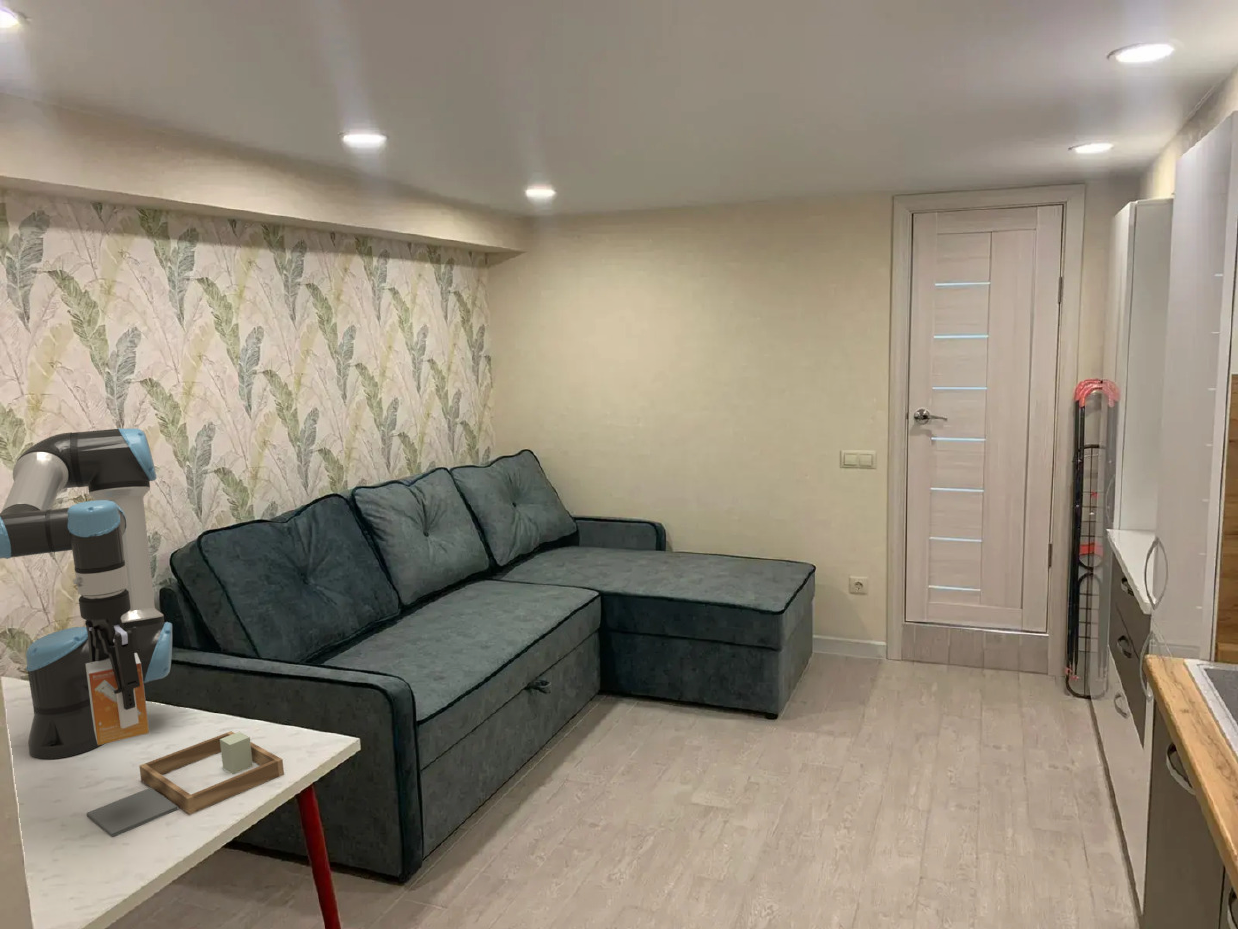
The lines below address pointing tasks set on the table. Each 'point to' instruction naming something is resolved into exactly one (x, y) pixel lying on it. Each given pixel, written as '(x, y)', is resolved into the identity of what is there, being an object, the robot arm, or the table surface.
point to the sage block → (236, 752)
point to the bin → (217, 792)
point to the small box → (113, 703)
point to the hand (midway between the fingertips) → (120, 719)
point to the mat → (131, 811)
